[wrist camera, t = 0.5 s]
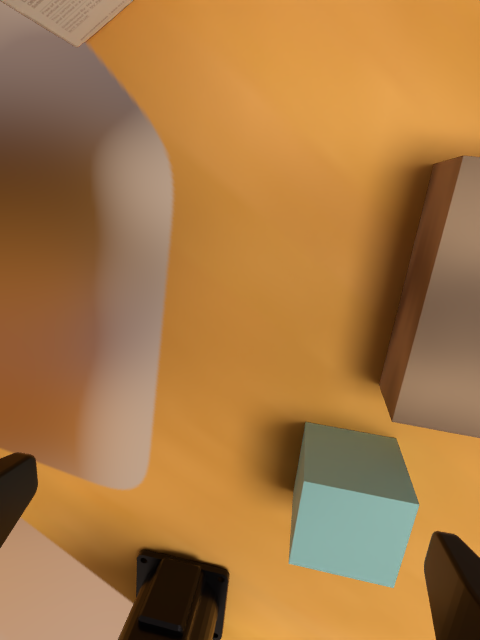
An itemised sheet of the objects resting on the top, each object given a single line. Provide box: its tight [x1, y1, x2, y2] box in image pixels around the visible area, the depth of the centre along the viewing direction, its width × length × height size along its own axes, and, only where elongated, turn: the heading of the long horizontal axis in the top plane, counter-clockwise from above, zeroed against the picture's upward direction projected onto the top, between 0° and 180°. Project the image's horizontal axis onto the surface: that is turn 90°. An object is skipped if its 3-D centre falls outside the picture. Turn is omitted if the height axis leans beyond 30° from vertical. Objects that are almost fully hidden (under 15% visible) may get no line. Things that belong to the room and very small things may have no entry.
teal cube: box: [289, 422, 419, 588], centre depth 20 cm, size 5×5×5 cm
